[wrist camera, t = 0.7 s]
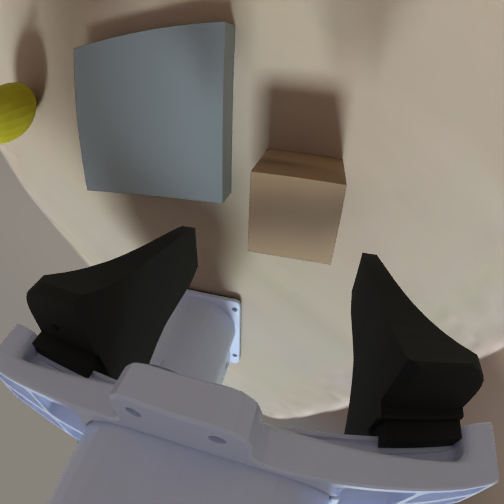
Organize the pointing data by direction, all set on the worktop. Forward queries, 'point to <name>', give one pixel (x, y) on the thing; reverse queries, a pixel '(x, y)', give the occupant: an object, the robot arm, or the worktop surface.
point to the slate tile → (158, 111)
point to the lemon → (15, 110)
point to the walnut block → (296, 205)
